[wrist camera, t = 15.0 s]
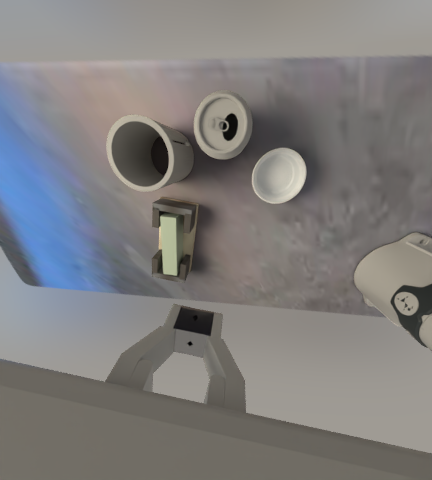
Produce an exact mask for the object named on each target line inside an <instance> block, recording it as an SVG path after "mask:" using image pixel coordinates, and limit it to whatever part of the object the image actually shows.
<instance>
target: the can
mask: <svg viewBox="0 0 432 480" xmlns="http://www.w3.org/2000/svg"><path fill="white" fill-rule="evenodd" d="M252 125H253V121H252V115H251V111H250V109H249V107H248V105H247V103H246V101H245V100H244V99H243V98H242V97H240V96H239V95H238V94H236V93H234V92H231V91H217V92H214V93H212V94H210V95H208V96H207V97H206V98H205V99H204V100H203V101H202V102H201V104H200V106H199V107H198V109H197V111H196V115H195V119H194V134H195V137H196V140H197V143H198V144H199V146H200V147H201V149H202V150H203V151H204V152H205V153H206V154H207V155H209V156H211V157H213V158H216V159H230V158H234V157H236V156H237V155H238V154H240V153H241V152H242V150H243V149H244V148H245V146H246V145H247V144H248V142H249V139H250V136H251V134H252Z"/></svg>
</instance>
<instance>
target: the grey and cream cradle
mask: <svg viewBox="0 0 432 480" xmlns="http://www.w3.org/2000/svg"><path fill="white" fill-rule="evenodd" d="M198 207H199V204H197V203H192V202H187V201H181V200H176V199H171V198H165V197H161V198H160V199H159V200H157V201H155V202H153V220H152V227H155V228H159V251H158V252H157V253H156V255H155V256H154V257H153V258H152V277H156V278H161V279H166V280H171V281H176V282H181V283H184V282H185V280H186V278H187V275H188V273H189V272H190V271H191V265H192V257H193V249H194V240H195V232H196V224H197V216H198ZM165 212H170V213H175V214H181V215H183V260H182V262H181V264H180V271H179V273H178V275H177V276H175V275H167V274H163V259H162V240H161V222H160V216H161V215H163V214H164V213H165Z"/></svg>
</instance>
